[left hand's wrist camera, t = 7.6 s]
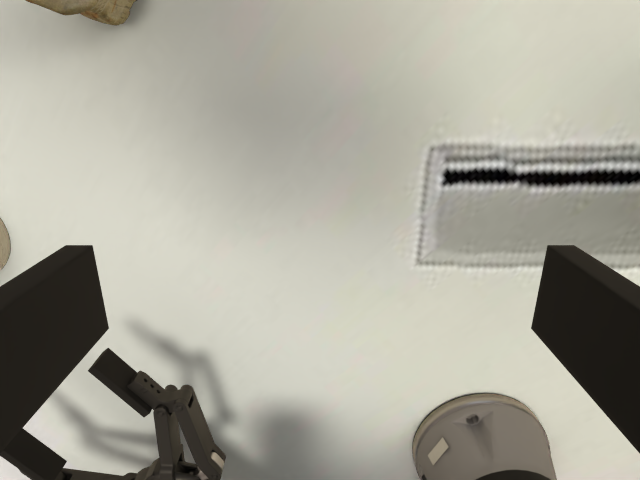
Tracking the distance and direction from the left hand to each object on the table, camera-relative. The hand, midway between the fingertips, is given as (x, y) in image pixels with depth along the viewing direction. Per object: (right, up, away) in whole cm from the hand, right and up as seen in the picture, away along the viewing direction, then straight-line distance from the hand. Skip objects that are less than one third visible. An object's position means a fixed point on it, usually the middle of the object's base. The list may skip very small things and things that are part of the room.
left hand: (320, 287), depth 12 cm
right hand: (-25, -13, +27) cm, 39 cm away
